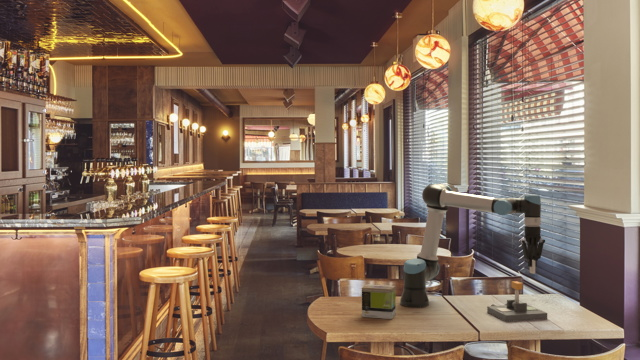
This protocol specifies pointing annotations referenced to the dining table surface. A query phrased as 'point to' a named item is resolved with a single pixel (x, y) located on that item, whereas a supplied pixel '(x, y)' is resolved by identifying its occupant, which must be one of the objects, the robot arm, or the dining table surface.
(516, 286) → the breaker lever
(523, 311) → the breaker box
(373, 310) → the tea box
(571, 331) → the dining table surface
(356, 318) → the dining table surface
